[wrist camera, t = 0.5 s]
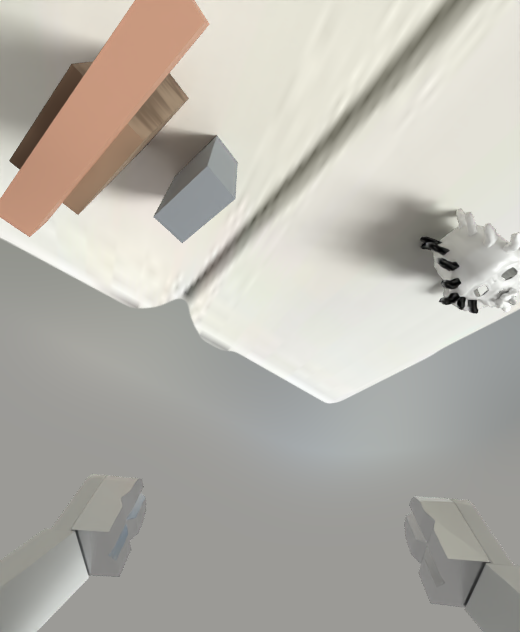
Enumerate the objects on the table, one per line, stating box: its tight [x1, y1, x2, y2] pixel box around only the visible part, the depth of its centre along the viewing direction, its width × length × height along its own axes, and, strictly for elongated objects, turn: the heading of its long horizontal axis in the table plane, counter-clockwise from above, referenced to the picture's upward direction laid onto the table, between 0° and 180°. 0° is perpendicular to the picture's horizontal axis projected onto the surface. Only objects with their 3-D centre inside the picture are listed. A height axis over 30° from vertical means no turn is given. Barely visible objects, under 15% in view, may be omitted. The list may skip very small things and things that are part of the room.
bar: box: [0, 0, 209, 237], centre depth 22 cm, size 3×22×3 cm, turn 128°
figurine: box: [420, 209, 520, 313], centre depth 57 cm, size 17×16×30 cm
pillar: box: [9, 62, 189, 214], centre depth 33 cm, size 6×10×26 cm, turn 128°
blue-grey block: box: [154, 136, 238, 243], centre depth 43 cm, size 5×10×16 cm, turn 128°
